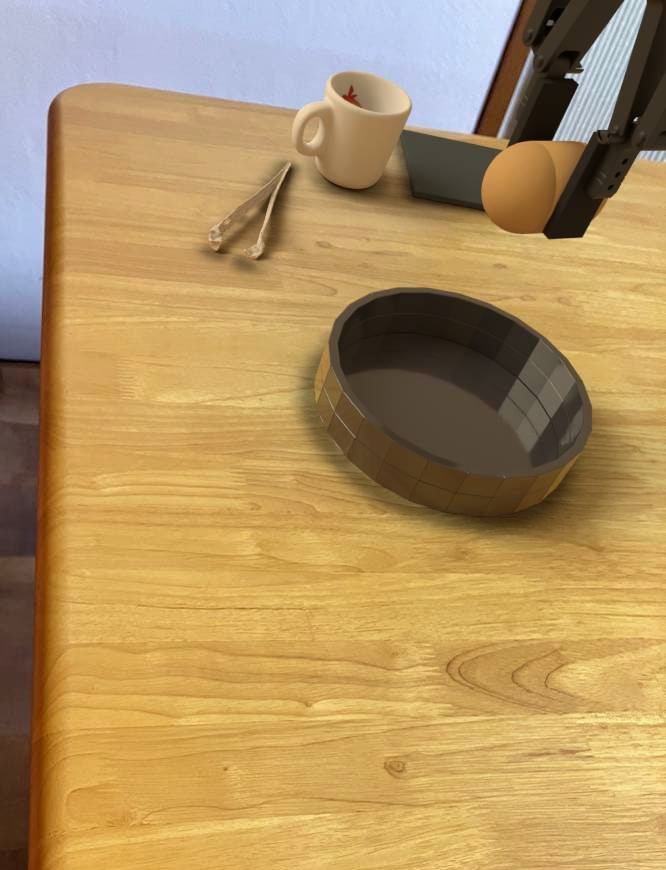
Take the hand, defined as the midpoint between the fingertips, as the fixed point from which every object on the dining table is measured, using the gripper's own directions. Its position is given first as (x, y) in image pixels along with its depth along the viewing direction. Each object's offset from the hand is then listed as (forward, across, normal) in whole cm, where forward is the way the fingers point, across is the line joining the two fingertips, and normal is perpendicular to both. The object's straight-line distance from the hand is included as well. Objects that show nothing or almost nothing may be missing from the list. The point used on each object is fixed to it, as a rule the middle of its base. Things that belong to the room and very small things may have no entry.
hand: (537, 205), depth 57 cm
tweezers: (+16, -24, -7) cm, 29 cm away
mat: (+16, -28, +19) cm, 37 cm away
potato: (+1, 0, 0) cm, 1 cm away
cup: (+16, -29, +3) cm, 33 cm away
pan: (+15, +4, -3) cm, 16 cm away
